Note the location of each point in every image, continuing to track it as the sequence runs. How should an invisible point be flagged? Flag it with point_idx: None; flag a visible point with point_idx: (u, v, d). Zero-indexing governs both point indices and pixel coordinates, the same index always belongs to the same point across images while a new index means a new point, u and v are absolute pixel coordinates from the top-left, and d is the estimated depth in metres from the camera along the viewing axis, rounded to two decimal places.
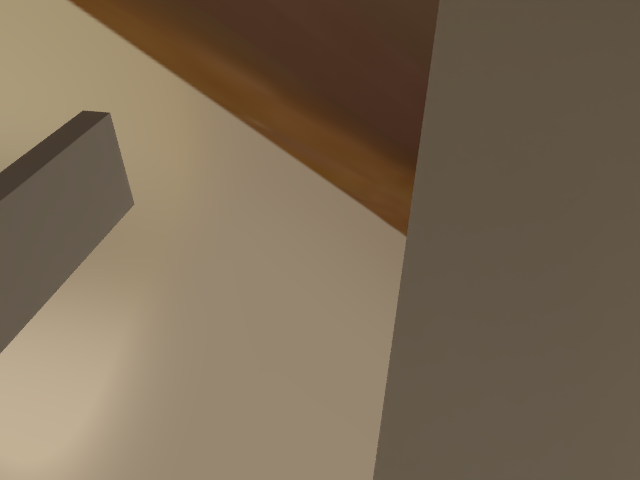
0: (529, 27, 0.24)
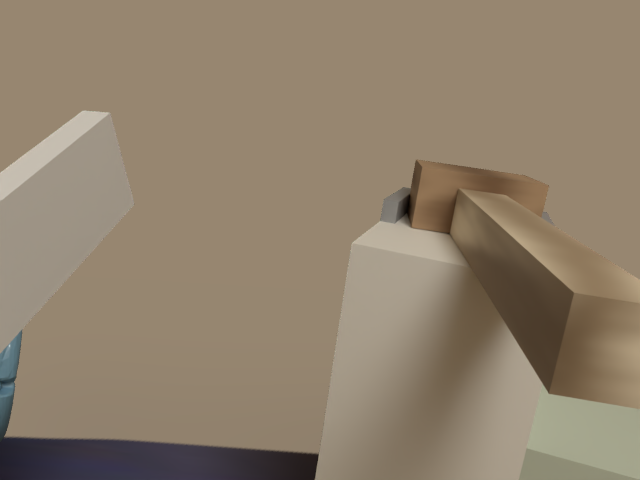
0: None
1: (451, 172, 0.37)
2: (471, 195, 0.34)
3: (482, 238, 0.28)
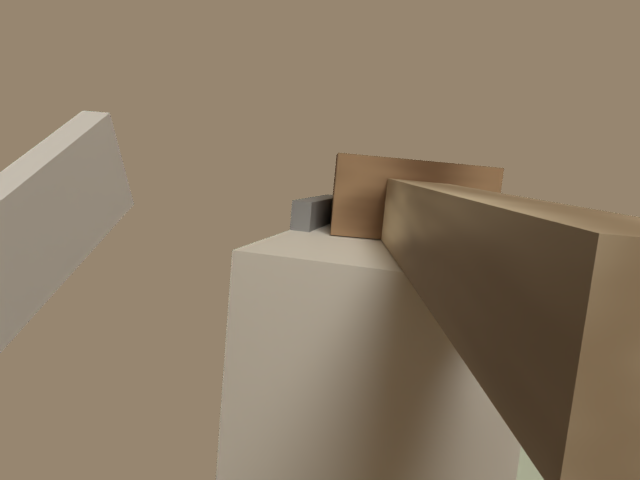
0: None
1: (376, 158, 0.28)
2: None
3: (414, 223, 0.18)
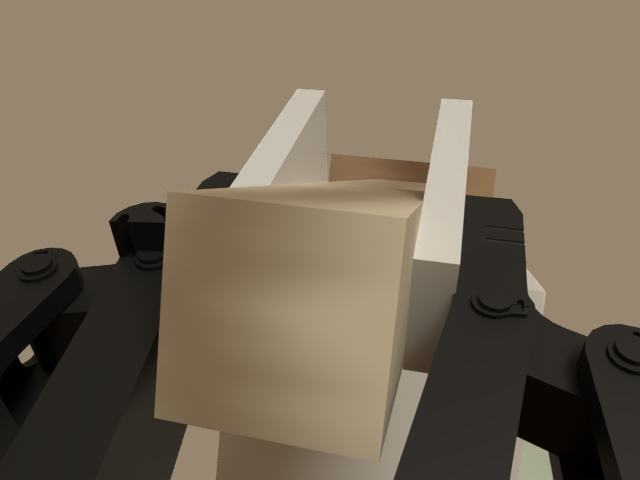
0: None
1: (368, 159, 0.29)
2: None
3: None
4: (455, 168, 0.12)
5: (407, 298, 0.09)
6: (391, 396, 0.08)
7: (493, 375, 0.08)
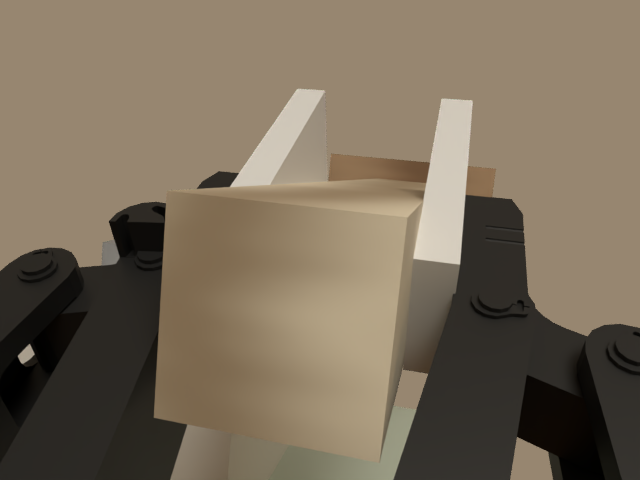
0: None
1: (367, 158, 0.29)
2: (377, 179, 0.26)
3: None
4: (456, 167, 0.12)
5: (407, 298, 0.09)
6: (391, 396, 0.08)
7: (493, 375, 0.08)
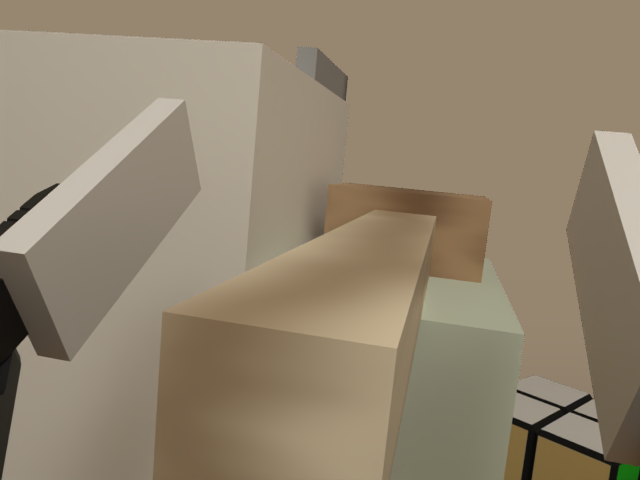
0: None
1: (365, 189, 0.29)
2: (374, 214, 0.26)
3: None
4: None
5: (399, 393, 0.09)
6: None
7: None
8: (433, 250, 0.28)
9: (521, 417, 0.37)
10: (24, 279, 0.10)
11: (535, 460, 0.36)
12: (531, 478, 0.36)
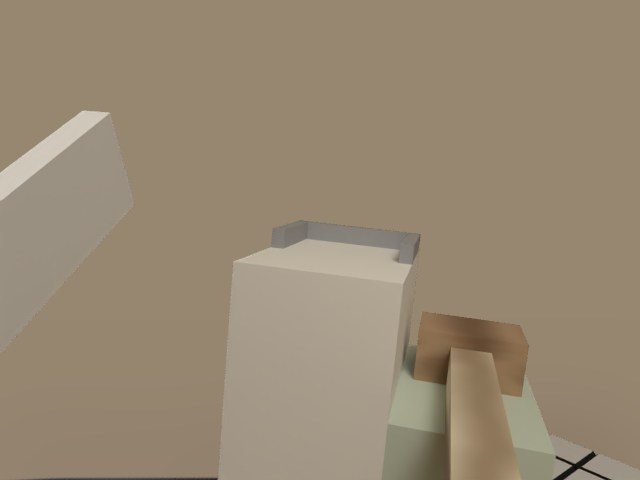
0: None
1: (443, 334, 0.44)
2: (455, 359, 0.41)
3: (448, 413, 0.34)
4: None
5: None
6: None
7: None
8: None
9: None
10: None
11: None
12: None
